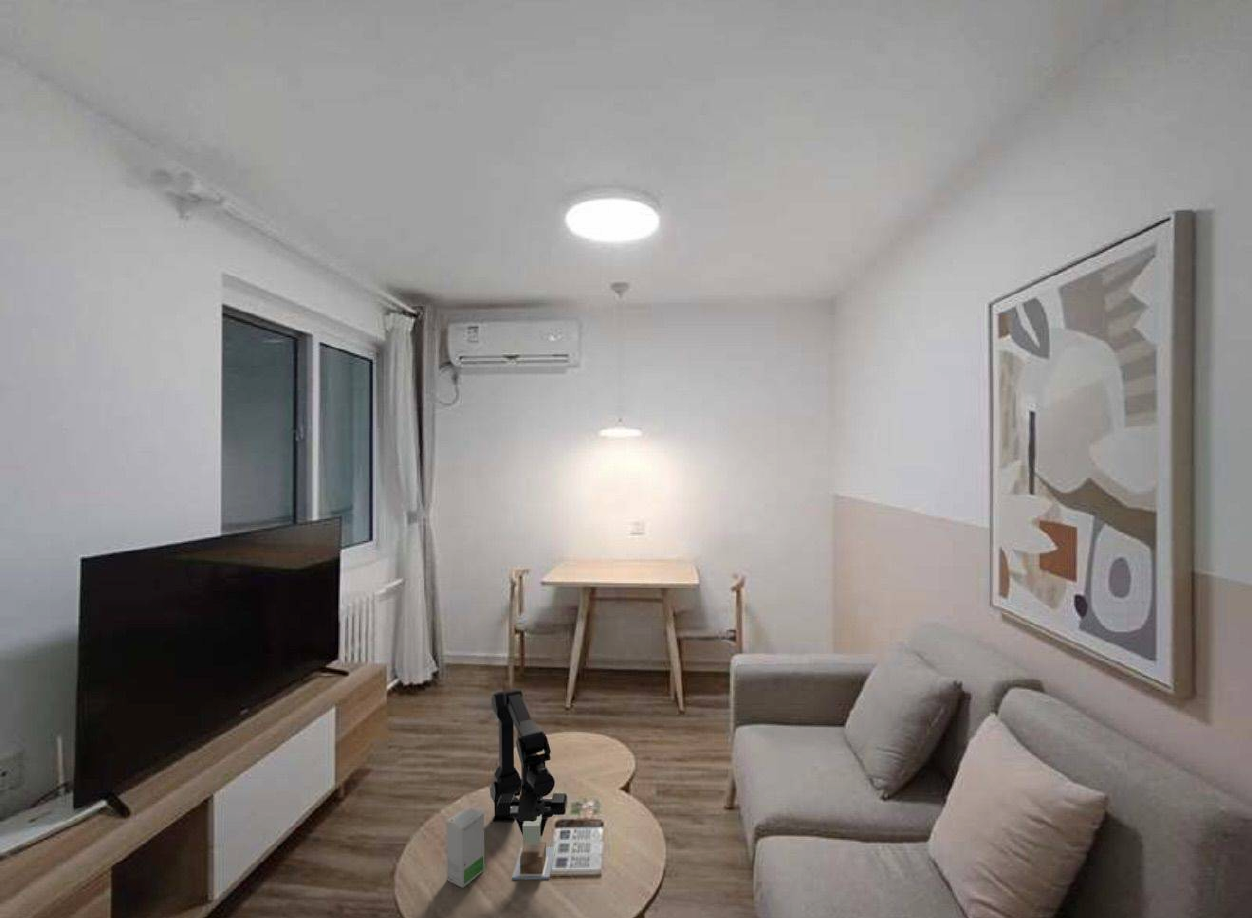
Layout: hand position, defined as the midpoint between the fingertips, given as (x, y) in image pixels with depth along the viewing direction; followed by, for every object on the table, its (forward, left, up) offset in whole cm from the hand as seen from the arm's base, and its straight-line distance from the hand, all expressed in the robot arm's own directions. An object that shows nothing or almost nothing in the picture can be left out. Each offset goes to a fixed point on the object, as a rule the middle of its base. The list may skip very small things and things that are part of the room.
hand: (532, 835), depth 155 cm
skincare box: (-18, -2, -9) cm, 20 cm away
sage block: (0, 0, -1) cm, 1 cm away
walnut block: (0, 0, -8) cm, 8 cm away
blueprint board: (0, +2, -9) cm, 9 cm away
